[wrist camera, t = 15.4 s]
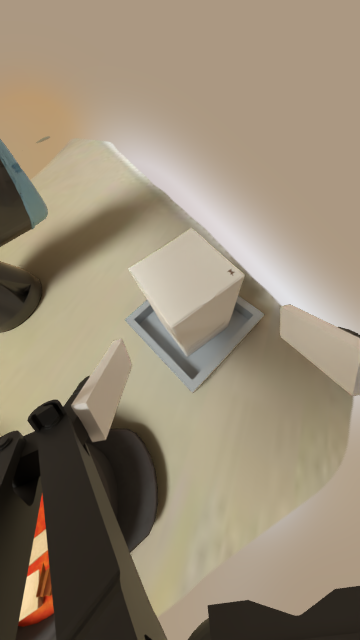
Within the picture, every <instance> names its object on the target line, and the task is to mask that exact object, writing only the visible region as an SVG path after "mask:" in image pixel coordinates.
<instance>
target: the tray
mask: <svg viewBox="0 0 360 640" xmlns="http://www.w3.org/2000/svg"><path fill="white" fill-rule="evenodd" d="M264 315H265V314H263V313H262V312H261V311H259V310H258V309H256V308H255V307H254V306H252V305H251V304H250V303H248V302H247V301H245V300H244V299H243V298H241V297H240V296H238V297H237V300H236V304H235V306H234V310H233V313H232V315H231V318H230V321H229V324H228V327H227V328H226V329H224V330H223V331H222V332H220V333H219V334H218V335H216V336H215V337H214V338H212V339H211V340H210V341H208V342H207V343H206V344H204V345H203V346H202V347H200V348H199V349H198V350H196V351H195V352H194V353H192V354H191V355H190V356H188V357H187V356H186V355H185V354H184V352H183V351H182V350H181V348H180V347H179V346H178V344H177V343H176V342H175V340H174V339H173V337H172V336H171V335H170V333H169V332H168V331H167V329H166V328H165V327H164V325H163V324H162V323H161V321H160V320H159V318H158V316H157V315H156V313H155V311H154V310H153V308H152V307H151V305H150V303H149V302H148V300H146V301H145V302H144V303H143V304H142V305H141V306H139V307H138V308H137V309H136V310H135V311H134V312H133V313H132V314H130V315H129V316H128V317H127V318H126V319H125V321H126V322H127V323H128V324H129V325H130V326H131V327H132V328H133V329H134V331H135V332H136V333H137V334H138V335H139V336H140V337H141V338H142V339H143V340H144V341H145V342H146V343H147V345H148V346H149V347H150V348H151V349H152V350H153V351H154V352H155V353H156V354H157V355H158V356H159V357H160V358H161V360H162V361H163V362H164V363H165V364H166V365H167V366H168V367H169V368H170V369H171V370H172V371H173V372H174V374H175V375H176V376H177V377H178V378H179V379H180V380H181V381H182V382H183V383H184V384H185V385H186V386H187V388H188V389H189V390H190V391H191V392H192V393H194V392H195V391H196V390H197V389H198V388H199V387H200V385H201V384H202V383H203V382H204V381H205V380H206V379H207V378H208V377H209V376H210V375H211V373H212V372H213V371H214V370H215V369H216V368H217V367H218V366H219V365H220V364H221V363H222V361H223V360H224V359H225V358H226V357H227V356H228V355H229V354H230V353H231V352H232V351H233V350H234V348H235V347H236V346H237V345H238V344H239V343H240V342H241V341H242V340H243V339H244V338H245V336H246V335H247V334H248V333H249V332H250V331H251V330H252V329H253V328H254V327H255V326H256V324H257V323H258V322H259V321H260V320H261V318H262V317H263V316H264Z"/></svg>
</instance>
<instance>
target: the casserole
mask: <svg viewBox="0 0 360 640" xmlns="http://www.w3.org/2000/svg"><path fill="white" fill-rule="evenodd" d="M85 443H86V445H87V446H88V449H89V452H90V454H91V457H92V459H93V462H94V464H95V467H96V469H97V472H98V474H99V477H100V479H101V482H102V484H103V487H104V489H105V492H106V494H107V497H108V499H109V502H110V504H111V507H112V509H113V512H114V514H115V517H116V519H117V522H118V524H119V527H120V529H121V532H122V534H123V537H124V539H125V542H126V544H127V547H128V550H129V552H131V551H132V550H134V549H135V548H136V547H137V546H138V545H139V544H140V543H141V542H142V541H143V540H144V539H145V538H146V537H147V536H148V535H149V533H150V531H151V529H152V527H153V524H154V522H155V518H156V512H157V505H158V487H157V480H156V474H155V468H154V465H153V462H152V459H151V456H150V454H149V452H148V450H147V448H146V446H145V444H144V442H143V441H142V440H141V438H140V437H139V436H138V435H137V434H136V433H134V432H133V431H131V430H129V429H110V430H109V433H108V436H107V438H106V440H102V441H96V442H92V440H91V439H90V437H89V435H88V437H87V439H86V441H85ZM15 640H56V630H55V620H54V609H53V599H52V588H51V578H50V567H49V557H48V546H47V536H46V525H45V515H44V505H43V494H42V497H41V502H40V508H39V513H38V519H37V524H36V530H35V535H34V541H33V546H32V552H31V557H30V563H29V568H28V573H27V579H26V584H25V590H24V595H23V601H22V606H21V612H20V617H19V623H18V628H17V634H16V639H15Z"/></svg>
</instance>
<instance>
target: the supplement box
mask: <svg viewBox="0 0 360 640" xmlns="http://www.w3.org/2000/svg"><path fill="white" fill-rule="evenodd" d="M128 269H129V271H130V273H131V275H132V276H133V278H134V280H135V281H136V283H137V284H138V286H139V288H140V289H141V291H142V292H143V294H144V295H145V297H146V299H147V300H148V302H149V303H150V305H151V307H152V308H153V310H154V311H155V313H156V315H157V316H158V318H159V320H160V321H161V323H162V324H163V325H164V327H165V328H166V329H167V331H168V332H169V333H170V335H171V336H172V337H173V339H174V340H175V342H176V343H177V344H178V346H179V347H180V348H181V350H182V351H183V352H184V354H185V355H186V356H187V357H188V356H190V355H191V354H192V353H194V352H195V351H196V350H198V349H199V348H200V347H202V346H203V345H204V344H206V343H207V342H208V341H210V340H211V339H212V338H214V337H215V336H216V335H218V334H219V333H220V332H222V331H223V330H224V329H226V328H227V327H228V324H229V321H230V318H231V315H232V313H233V310H234V306H235V304H236V300H237V297H238V294H239V291H240V288H241V285H242V282H243V279H244V276H245V274H244V273H243V272H241V271H240V270H239V269H238V268H237V267H236V266H234V265H233V264H232V263H231V262H230V261H229V260H227V259H226V258H225V257H224V256H223V255H222V254H221V253H219V252H218V251H217V250H216V249H215V248H214V247H213V246H212V245H211V244H209V243H208V242H207V241H206V240H205V239H204V238H203V237H202V236H201V235H200V234H199V233H197V232H196V231H195V230H194V229H193V228H190V229H189V230H187V231H186V232H184V233H183V234H181V235H180V236H178V237H176V238H175V239H173V240H172V241H170V242H169V243H167V244H166V245H164V246H163V247H161V248H160V249H158V250H156V251H155V252H153V253H152V254H150V255H149V256H147V257H145V258H144V259H142V260H141V261H139V262H138V263H136V264H134V265H133V266H131V267H130V268H128Z"/></svg>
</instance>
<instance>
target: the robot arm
mask: <svg viewBox="0 0 360 640" xmlns="http://www.w3.org/2000/svg"><path fill="white" fill-rule="evenodd" d="M47 214H48V209H47V207H46V204H45V203H44V201H43V199H42V198H41V196H40V195H39V193H38V192H37V190H36V188H35V187H34V186H33V184H32V183H31V181H30V180H29V178H28V177H27V176H26V174H25V173H24V171H23V170H22V169H21V168H20V166H19V164H18V163H17V162H16V160H15V159H14V157H13V155H12V154H11V153H10V151H9V150H8V149H7V147H6V146H5V144H4V143H3V142H2V140H1V139H0V247H1V246H3V245H4V244H6V243H8V242H10V241H11V240H13V239H15V238H17V237H18V236H20V235H22V234H24V233H25V232H27V231H29V230H30V229H33V228H35V226H36V225H37V224H38V223H40V222H41V221H43V220H44V219H45V218H46V217H47ZM41 292H42V288H41V283H40V281H39V280H38V279H37V278H36V277H35V276H34V275H32V274H31V273H29V272H28V271H26V270H24V269H22V268H19V267H16V266H13V265H10V264H7V263H4V262H1V261H0V333H1V332H5V331H8V330H11V329H13V328H15V327H16V326H18V325H20V324H21V323H22V322H24V321H25V320H26V319H27V318H28V317H29V316H30V315H31V314H32V312H33V311H34V310H35V308H36V307H37V305H38V303H39V300H40V297H41ZM280 337H281V338H283V339H284V340H285V341H286V342H287V343H289V344H290V345H291V346H292V347H294V348H295V349H296V350H297V351H298V352H300V353H301V354H302V355H303V356H304V357H306V358H307V359H308V360H309V361H310V362H312V363H313V364H314V365H315V366H316V367H318V368H319V369H320V370H321V371H322V372H324V373H325V374H326V375H327V376H329V377H330V378H331V379H332V380H333V381H335V382H336V383H337V384H338V385H339V386H341V387H342V388H343V389H344V390H345V391H347V392H348V393H349V394H350V395H351V396H356V395H360V335H358V333H355V332H353V331H351V330H349V329H345V328H341V327H335V326H334V325H332V324H330V323H327V322H325V321H323V320H321V319H319V318H317V317H315V316H313V315H311V314H309V313H307V312H305V311H303V310H301V309H298V308H296V307H294V306H292V305H285V306H280ZM131 368H132V363H131V360H130V358H129V355H128V352H127V350H126V347H125V344H124V342H123V339H118V340H113V342H112V344H111V345H110V347H109V348H108V350H107V351H106V353H105V354H104V356H103V357H102V359H101V360H100V362H99V363H98V365H97V366H96V368H95V369H94V371H93V373H92V374H91V376H88V377H86V378H85V379H84V380H83V381H82V382H80V384H79V385H78V387H77V388H76V390H75V391H74V392H73V395H71V397H70V398H69V400H68V401H67V402H66V404H65V405H64V407H63V406H62V405H61V403H60V402H59V401H58V400H51V401H48V402H46V403H44V404H42V405H41V406H39V407H38V408H36V409H35V410H34V411H33V412H32V413H31V414H30V416H29V417H28V422H29V423H30V425H31V426H32V427H33V429H34V430H35V432H32V433H30V434H28V435H25V436H22V434H21V433H20V432H19V431H13V432H10V433H7V434H6V435H4V436H2V437H0V640H15V639H16V634H17V628H18V623H19V617H20V612H21V606H22V601H23V595H24V590H25V584H26V579H27V573H28V568H29V563H30V557H31V552H32V546H33V541H34V535H35V530H36V524H37V519H38V513H39V508H40V502H41V497H42V494H43V505H44V515H45V525H46V536H47V546H48V557H49V567H50V578H51V588H52V599H53V609H54V620H55V630H56V640H167V638H166V636H165V634H164V631H163V629H162V627H161V625H160V622H159V621H158V618H157V617H156V615H155V613H154V611H153V609H152V607H151V604H150V602H149V600H148V597H147V595H146V592H145V590H144V587H143V585H142V582H141V580H140V577H139V575H138V572H137V570H136V567H135V565H134V562H133V560H132V557H131V555H130V552H129V550H128V547H127V544H126V542H125V539H124V537H123V534H122V532H121V529H120V527H119V524H118V522H117V519H116V517H115V514H114V512H113V509H112V507H111V504H110V502H109V499H108V497H107V494H106V492H105V489H104V487H103V484H102V482H101V479H100V477H99V474H98V472H97V469H96V467H95V464H94V462H93V459H92V457H91V454H90V452H89V449H88V446H87V445H86V443H85V441H86V439H87V437H88V435H89V437H90V439H91V440H92V442H96V441H102V440H106V438H107V436H108V433H109V430H110V427H111V424H112V422H113V419H114V416H115V413H116V410H117V407H118V405H119V402H120V399H121V396H122V393H123V390H124V388H125V385H126V382H127V379H128V376H129V374H130V371H131ZM208 613H209V618H208V619H207V620H205V621H204V622H203V623H201V625H200V626H199V627H198V628H197V629H196V630H195V631H194V632H193V633H192V635H191V636H190V637H189V639H188V640H360V586H356V587H348V588H340V589H335V590H333V591H332V592H331V593H329V594H328V595H327V596H325V597H324V598H323V599H321V600H320V601H319V602H318V603H316V604H315V605H314V606H312V607H311V608H310V609H308V610H307V611H306V612H304V613H303V614H302V615H299V616H294V615H291V614H288V613H285V612H282V611H279V610H276V609H273V608H270V607H267V606H264V605H261V604H258V603H255V602H252V601H249V600H245V601H237V602H230V603H222V604H214V605H208Z"/></svg>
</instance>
